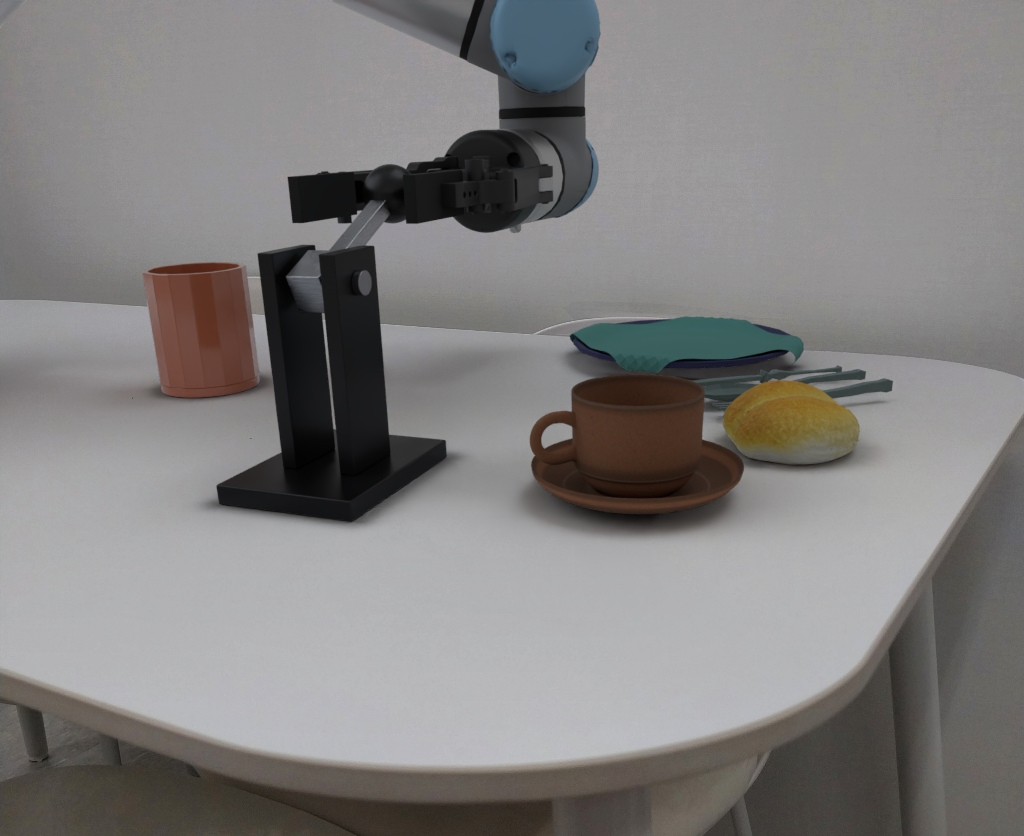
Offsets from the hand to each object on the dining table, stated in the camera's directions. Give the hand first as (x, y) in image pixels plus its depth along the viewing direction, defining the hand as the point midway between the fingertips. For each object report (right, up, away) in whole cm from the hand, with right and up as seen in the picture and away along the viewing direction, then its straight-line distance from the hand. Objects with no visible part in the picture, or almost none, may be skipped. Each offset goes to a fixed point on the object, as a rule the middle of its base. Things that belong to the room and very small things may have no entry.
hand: (351, 199), depth 58 cm
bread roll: (+28, -14, +6) cm, 32 cm away
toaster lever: (+1, -3, +2) cm, 4 cm away
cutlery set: (+26, -7, +26) cm, 38 cm away
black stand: (-1, -17, +2) cm, 17 cm away
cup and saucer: (+17, -18, -2) cm, 24 cm away
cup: (-17, -8, +26) cm, 32 cm away
